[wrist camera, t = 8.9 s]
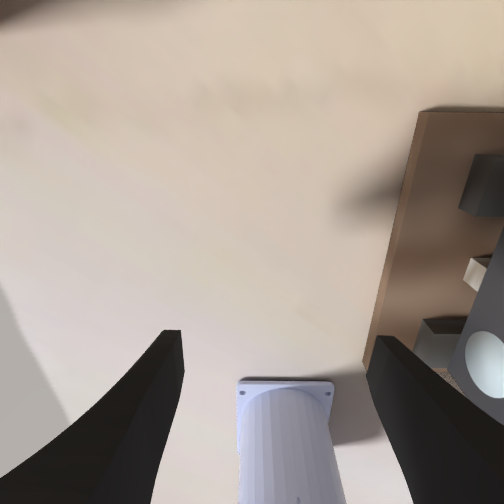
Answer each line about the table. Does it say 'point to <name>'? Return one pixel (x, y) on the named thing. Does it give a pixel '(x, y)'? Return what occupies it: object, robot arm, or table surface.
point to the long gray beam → (484, 343)
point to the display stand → (441, 234)
